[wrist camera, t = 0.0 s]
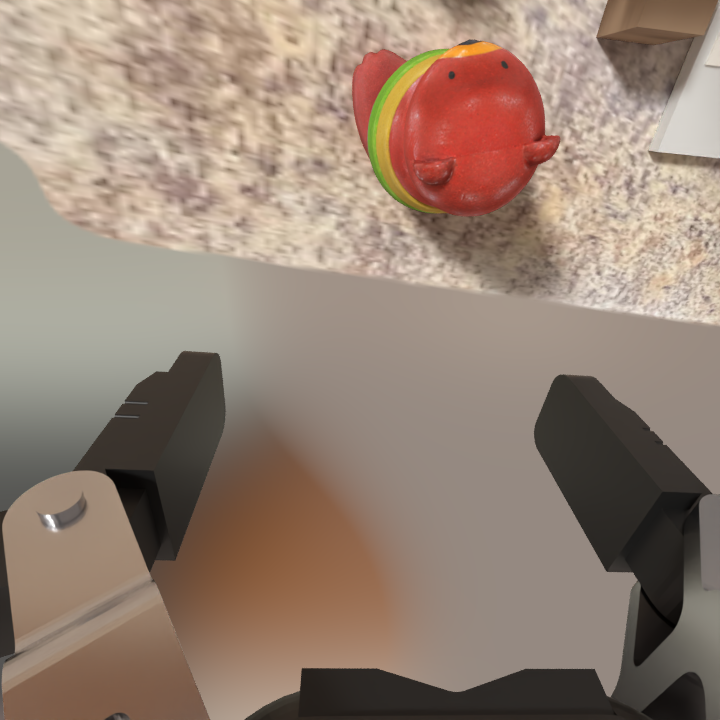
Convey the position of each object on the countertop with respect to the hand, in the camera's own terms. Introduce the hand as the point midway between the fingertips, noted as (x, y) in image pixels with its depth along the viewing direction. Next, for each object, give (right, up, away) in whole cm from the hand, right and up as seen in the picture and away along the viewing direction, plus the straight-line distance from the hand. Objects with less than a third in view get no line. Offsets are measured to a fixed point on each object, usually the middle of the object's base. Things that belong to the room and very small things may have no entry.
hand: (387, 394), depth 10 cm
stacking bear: (+4, +20, +23) cm, 30 cm away
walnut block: (+19, +26, +19) cm, 38 cm away
